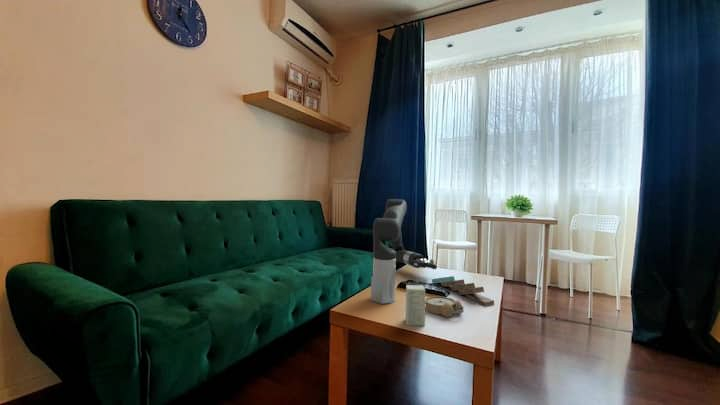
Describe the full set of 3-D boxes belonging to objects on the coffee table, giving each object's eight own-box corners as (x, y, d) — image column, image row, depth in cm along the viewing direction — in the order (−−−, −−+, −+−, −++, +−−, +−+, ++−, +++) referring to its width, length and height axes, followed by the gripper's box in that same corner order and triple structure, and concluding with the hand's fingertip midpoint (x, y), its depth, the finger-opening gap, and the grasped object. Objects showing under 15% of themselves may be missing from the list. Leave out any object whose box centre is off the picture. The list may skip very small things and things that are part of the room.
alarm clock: (438, 294, 115) (470, 300, 103) (439, 307, 114) (471, 314, 102) (418, 299, 109) (450, 306, 96) (419, 313, 108) (451, 321, 96)
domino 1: (449, 285, 135) (464, 283, 127) (441, 287, 133) (456, 285, 124) (448, 281, 136) (463, 279, 127) (440, 282, 133) (455, 280, 125)
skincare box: (423, 320, 97) (424, 285, 97) (425, 326, 93) (426, 289, 93) (404, 319, 98) (405, 284, 98) (405, 324, 94) (406, 288, 93)
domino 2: (460, 289, 130) (475, 287, 121) (451, 290, 128) (466, 289, 119) (459, 284, 130) (474, 282, 122) (450, 286, 129) (464, 284, 120)
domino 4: (474, 297, 122) (494, 305, 113) (465, 298, 120) (485, 307, 111) (474, 292, 122) (494, 300, 113) (465, 294, 120) (485, 302, 111)
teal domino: (440, 282, 140) (454, 280, 132) (432, 283, 138) (447, 281, 130) (439, 277, 141) (453, 276, 133) (431, 279, 139) (446, 277, 130)
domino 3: (468, 293, 125) (484, 291, 116) (459, 294, 123) (474, 293, 114) (467, 288, 125) (483, 286, 116) (458, 290, 124) (473, 288, 115)
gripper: (403, 253, 152) (425, 260, 137) (422, 251, 158) (445, 258, 143) (403, 267, 152) (425, 276, 137) (422, 264, 158) (445, 273, 143)
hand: (435, 267), depth 140 cm, fingers closed
